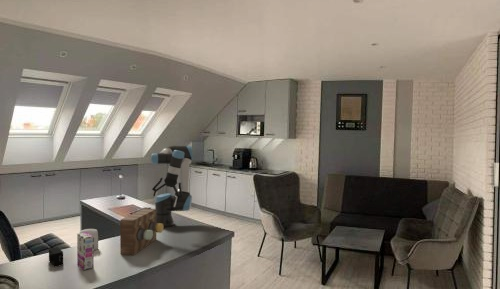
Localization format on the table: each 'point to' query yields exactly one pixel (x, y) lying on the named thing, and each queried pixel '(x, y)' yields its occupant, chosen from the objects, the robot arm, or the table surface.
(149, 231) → the sage button
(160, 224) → the ochre button
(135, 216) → the console
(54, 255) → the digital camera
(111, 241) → the table surface
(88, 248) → the candy bar box
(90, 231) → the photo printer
